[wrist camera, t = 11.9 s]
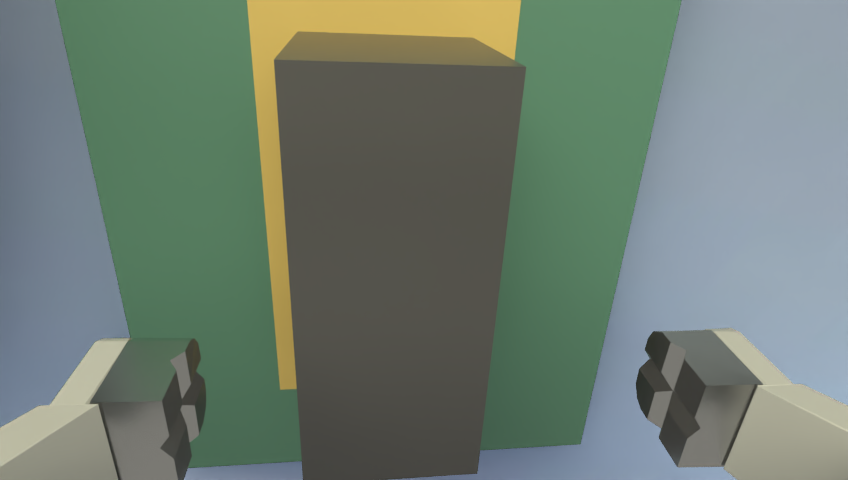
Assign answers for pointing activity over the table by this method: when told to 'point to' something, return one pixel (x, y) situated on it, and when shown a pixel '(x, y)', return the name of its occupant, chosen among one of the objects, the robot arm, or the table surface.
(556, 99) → the board
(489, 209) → the block
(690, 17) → the table surface
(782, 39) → the table surface
